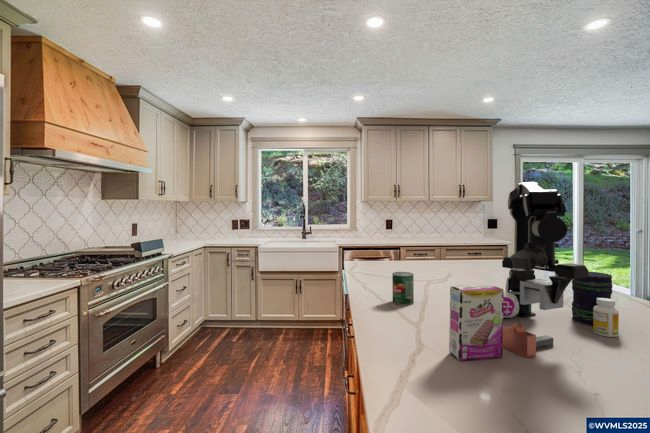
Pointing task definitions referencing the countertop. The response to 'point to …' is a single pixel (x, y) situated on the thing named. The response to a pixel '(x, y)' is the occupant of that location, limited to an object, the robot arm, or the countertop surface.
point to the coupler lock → (538, 294)
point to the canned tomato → (403, 288)
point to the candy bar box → (476, 322)
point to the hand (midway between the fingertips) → (541, 300)
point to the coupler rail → (523, 341)
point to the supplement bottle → (605, 318)
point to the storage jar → (589, 295)
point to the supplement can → (510, 305)
